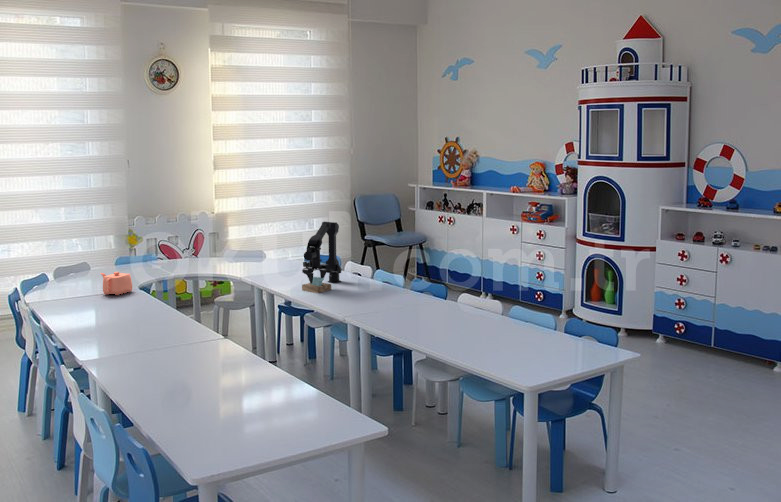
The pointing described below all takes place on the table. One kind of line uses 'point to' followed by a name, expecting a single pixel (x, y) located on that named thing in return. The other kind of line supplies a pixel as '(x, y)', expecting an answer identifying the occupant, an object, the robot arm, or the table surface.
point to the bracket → (317, 281)
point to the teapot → (116, 283)
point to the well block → (316, 287)
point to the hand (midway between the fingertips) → (316, 282)
